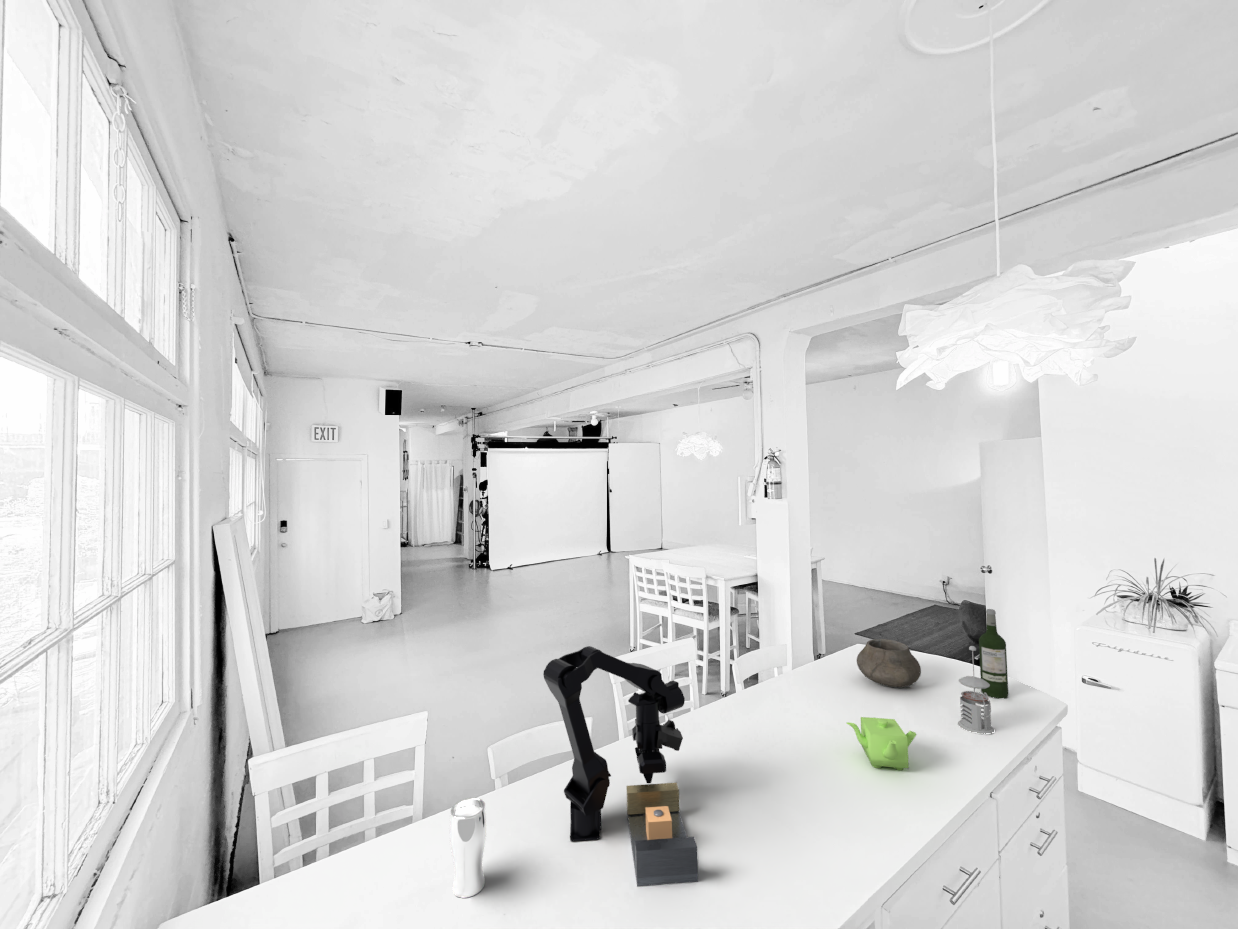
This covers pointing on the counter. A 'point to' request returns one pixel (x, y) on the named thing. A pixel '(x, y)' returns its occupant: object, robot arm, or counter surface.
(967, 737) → the counter surface
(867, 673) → the clay pot
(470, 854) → the beer glass
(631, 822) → the vise bed
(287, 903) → the counter surface
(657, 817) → the block
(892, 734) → the kettle
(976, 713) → the french press
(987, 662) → the wine bottle
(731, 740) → the counter surface
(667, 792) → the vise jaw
